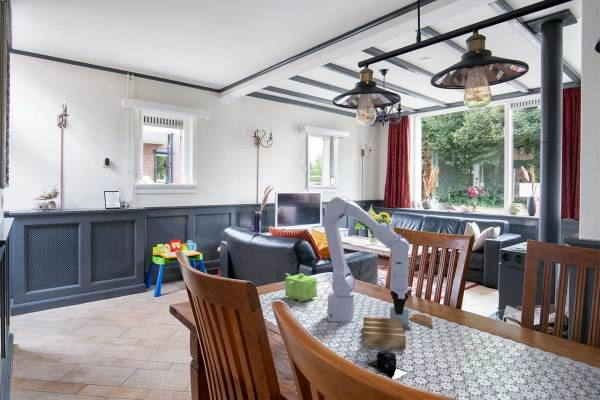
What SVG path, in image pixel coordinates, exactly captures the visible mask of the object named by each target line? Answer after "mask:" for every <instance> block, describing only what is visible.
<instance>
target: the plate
mask: <svg viewBox="0 0 600 400" xmlns="http://www.w3.org/2000/svg"><path fill="white" fill-rule="evenodd" d="M409 314H410V313H409V307H404V310H403V313H402V315H396V313H395V308H394V306H390V307H389V318H396V319H400V324H402V326H408V322H409V321H410V320H409V318H410V317H409Z"/></svg>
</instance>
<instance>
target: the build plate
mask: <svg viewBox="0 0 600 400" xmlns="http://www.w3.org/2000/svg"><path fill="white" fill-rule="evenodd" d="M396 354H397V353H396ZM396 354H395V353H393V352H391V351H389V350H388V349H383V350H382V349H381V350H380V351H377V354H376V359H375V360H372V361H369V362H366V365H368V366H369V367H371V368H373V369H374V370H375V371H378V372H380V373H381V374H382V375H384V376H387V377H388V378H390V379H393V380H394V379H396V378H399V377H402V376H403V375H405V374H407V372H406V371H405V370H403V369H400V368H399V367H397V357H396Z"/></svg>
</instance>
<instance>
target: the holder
mask: <svg viewBox="0 0 600 400" xmlns="http://www.w3.org/2000/svg"><path fill="white" fill-rule="evenodd" d="M402 329H404V330H406V331H407V330H408V331H409V330H410V331H411V330H412V329H411V326H410V323H409V321H408V326H402Z"/></svg>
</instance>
